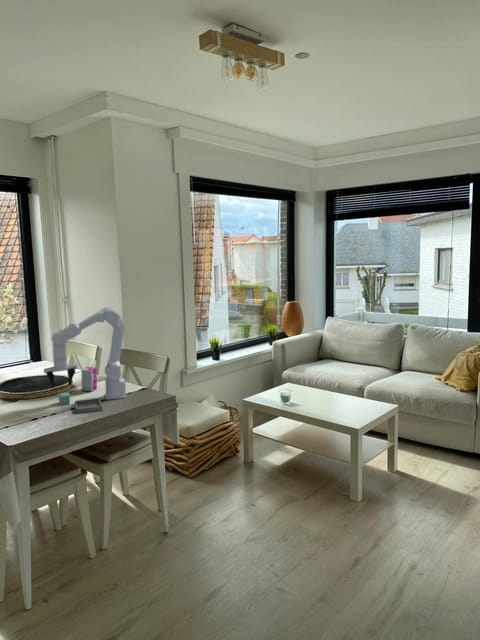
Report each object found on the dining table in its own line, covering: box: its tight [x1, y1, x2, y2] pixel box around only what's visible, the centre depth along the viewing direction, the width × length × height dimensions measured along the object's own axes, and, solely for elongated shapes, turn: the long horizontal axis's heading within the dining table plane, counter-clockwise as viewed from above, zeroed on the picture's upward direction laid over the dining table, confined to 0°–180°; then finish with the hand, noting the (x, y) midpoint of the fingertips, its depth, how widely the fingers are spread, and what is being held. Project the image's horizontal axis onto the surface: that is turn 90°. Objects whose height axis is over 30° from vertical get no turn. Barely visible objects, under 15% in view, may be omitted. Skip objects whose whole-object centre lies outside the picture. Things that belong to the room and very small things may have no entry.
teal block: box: [58, 392, 71, 406], centre depth 229 cm, size 4×4×4 cm
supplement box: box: [81, 366, 98, 393], centre depth 248 cm, size 6×6×12 cm
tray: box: [74, 397, 104, 414], centre depth 225 cm, size 11×11×2 cm
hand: (61, 385), depth 228 cm, fingers open, 7 cm apart
